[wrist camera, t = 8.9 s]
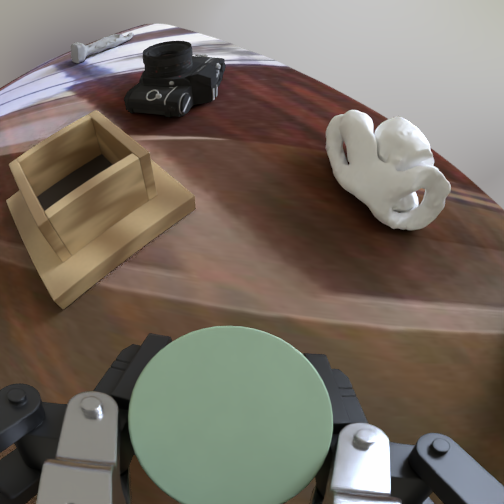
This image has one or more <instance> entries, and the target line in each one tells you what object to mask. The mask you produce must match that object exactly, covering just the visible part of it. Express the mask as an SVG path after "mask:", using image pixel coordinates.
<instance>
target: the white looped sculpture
mask: <svg viewBox="0 0 504 504" xmlns="http://www.w3.org/2000/svg"><path fill="white" fill-rule="evenodd" d="M326 138H327V140H326V150H327V155H328V157H329V160H330V164H331V167H332V169H333V174H334V176H335V178H336V180H337V181H338V183H339V184H340V185H341V186H342V187H343V188H344V189H345V190H346V191H348V192H349V193H351V194H353V195H355V197H356V198H358V199H359V200H360V201H362V202H363V203H365V204H366V205H367V206H368V207H369V209H370V211H371V212H372V214H373V215H374V217H376V218H377V219H378V220H379V221H380V222H381V223H383V224H386V225H387V226H390V227H391V228H392V229H396V228H398V229H402V230H405V229H407V230H417V229H422V228H424V227H425V226H427V225H428V224H429V223H431V222H432V221H433V220H435V218H436V217H437V215H438V214H439V213H440V212H441V211H442V209H443V208H444V205H445V199H446V196H447V195H448V194H449V193H450V190H451V186H450V183H449V182H448V181H447V180H446V178H445V177H444V175H443V174H442V173H441V172H440V171H439V170H438V168H436V167H434V166H433V165H434V158H433V154H432V152H431V150H430V144H429V142H428V141H427V139H426V137H425V136H424V135H423V133H422V132H421V131H420V130H419V128H418V127H416V126H414V125H413V124H411V123H410V122H409V120H405V119H404V118H402V117H401V116H398V117H393V118H391V119H388V120H386V121H384V122H382V123H381V124H380V125H379V126H378V127H377V129H376V131H375V133H374V134H373V121H372V119H371V118H370V117H369V116H368V115H367V114H365V113H363V112H360V111H358V110H350V111H348V112H346V113H345V114H341V115H337V116H335V117H333V118H332V120H331V121H330V123H329V125H328V127H327V130H326ZM343 142H345V144H346V147H347V158H348V162H349V163H350V164H349V165H348V162H347V160H346V157H345V154H344V151H343ZM421 188H423V189H425V194H424V198H423V201H422V202H421V204H420V205H419V206H418V197H417V194H416V192H415V191H417V190H419V189H421ZM398 212H400V213H398Z"/></svg>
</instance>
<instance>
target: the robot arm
mask: <svg viewBox="0 0 504 504" xmlns="http://www.w3.org/2000/svg"><path fill="white" fill-rule="evenodd" d="M171 342H172V339H171V337H169V336H163V335H157V334H152V333H149V334H148V336H147V337H146V339H145V340H144V342H143V344H142V345H141V346H140V345H135V344H132V345H131V346H129V347H127V348H125V349H124V350H122V351H121V352H120V354H119V355H118V357H117V358H116V361H114V362H113V364H112V365H111V368H109V369H108V371H107V372H106V373H105V375H104V376H103V378H102V379H101V380H100V382H99V383H98V385H97V386H96V388H95V389H94V390H93V391H87V392H82V393H79V394H77V395H75V396H74V397H72V398H71V399H70V400H69V402H68V404H56V403H47V402H42V400H41V397H40V394H39V392H38V391H37V390H36V389H35V388H34V387H32V386H30V385H26V384H12V385H9V386H6V387H4V388H3V389H1V390H0V453H1V452H2V451H3V450H5V449H6V448H8V447H9V446H11V445H12V444H13V443H14V444H15V446H16V449H15V450H13V451H12V452H11V453H9V454H8V455H7V456H5V457H4V458H2V459H1V460H0V504H26V503H27V502H28V501H29V500H30V499H31V498H33V497H34V496H35V495H36V494H37V493H38V495H37V502H36V504H132V492H131V474H130V466H129V465H130V462H131V460H132V457H133V455H135V452H134V449H133V446H132V443H131V439H130V434H129V428H128V411H129V403H130V399H131V395H132V391H133V389H134V386H135V384H136V381H137V379H138V377H139V376H140V374H141V372H142V371H143V369H144V368H145V366H146V365H147V364H148V362H149V361H150V360H151V359H152V358H153V357H154V356H155V355H156V354H157V353H158V352H159V351H160V350H161V349H163V348H164V347H165V346H167V345H168V344H169V343H171ZM303 355H304V356H305V357H306V358H307V359H308V360H309V362H310V363H311V364H312V365H313V367H314V368H315V369H316V370H317V372H318V374H319V375H320V377H321V379H322V380H323V382H324V385H325V387H326V389H327V391H328V394H329V398H330V401H331V406H332V413H333V432H332V440H331V444H330V447H329V451H328V454H327V456H326V458H325V460H324V463H323V465H322V466H321V468H320V470H319V471H318V473H317V474H316V476H315V478H316V485H315V487H314V489H313V491H312V495H311V499H310V503H309V504H434V502H433V501H432V500H431V499H430V498H429V496H430V494H431V493H432V492H434V493H435V494H436V495H437V496H438V497H439V499H440V500H441V501H442V502H443V503H444V504H504V486H503V485H502V484H501V483H499V482H498V481H497V480H496V479H495V478H494V477H493V476H492V475H491V474H490V473H488V472H487V471H486V470H485V469H484V468H483V467H482V466H481V465H480V464H479V463H477V462H476V461H475V460H474V459H473V458H472V457H471V456H470V455H469V454H468V453H466V452H465V451H464V450H463V449H462V448H461V447H460V446H459V445H458V444H457V443H455V442H454V441H453V440H452V439H451V438H449V437H447V436H445V435H443V434H439V433H429V434H425V435H423V436H421V437H420V438H419V440H418V441H417V443H416V445H406V444H398V443H392V442H389V439H388V437H387V435H386V434H385V433H384V432H383V431H382V430H381V429H379V428H378V427H376V426H374V425H371V424H368V422H367V419H366V417H365V415H364V412H363V410H362V408H361V406H360V403H359V401H358V399H357V397H356V394H355V392H354V390H353V389H352V385H351V383H350V381H349V379H348V377H347V376H346V375H345V374H343V373H342V372H341V371H340V370H339V369H331V367H330V364H329V362H328V359H327V357H326V355H324V354H308V353H304V354H303Z"/></svg>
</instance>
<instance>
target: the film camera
mask: <svg viewBox="0 0 504 504" xmlns="http://www.w3.org/2000/svg"><path fill="white" fill-rule="evenodd" d="M192 55H193V54H192V47H191V44H190V43H189V42H185V41H169V42H163V43H159V44H156V45H153V46H150V47H148V48H147V49H145V50H144V51H143V63H144V64H145V71H144V72H143V73H142V76H141V78H140V80H139V81H140V82H139V83H138V84H137V85H135V86H134V87H133V88H132V89H130V90H129V91H128V92H127V94H126V96H125V97H124V101H125V105H126V110H128V112H130V113H135V112H136V113H148V114H158V115H165V117H173V116H177V117H181V116H184V115H185V114H186V113H188V112H189V110H190V108H191V107H192V106H193V105H195V104H202V103H208V102H211V101H212V100H215V97H217V87H218V86H219V85H220V82H221V81H222V77H223V73H224V71H225V63H224V59H222V58H211V57H207V55H196V56H200V57H196V56H192Z"/></svg>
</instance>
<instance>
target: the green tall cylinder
mask: <svg viewBox="0 0 504 504" xmlns="http://www.w3.org/2000/svg"><path fill="white" fill-rule="evenodd" d="M128 428H129V434H130V439H131V443H132V446H133V449H134V452H135V455H136V457H137V459H138V461H139V463H140V465H141V466H142V468H143V469H144V471H145V472H146V474H147V475H148V476H149V478H150V479H151V480H152V481H153V482H154V483H155V484H156V485H157V486H158V487H159V488H160V489H161V490H162V491H164V492H165V493H166V494H167V495H168V496H170V497H172V498H173V499H175V500H176V501H178V502H179V503H181V504H283V503H285V502H287V501H288V500H290V499H291V498H293V497H294V496H296V495H297V494H298V493H299V492H301V491H302V490H303V489H304V488H305V487H306V486H307V485H308V484H309V483H310V482H311V481H312V479H313V478H314V477H315V476H316V474H317V473H318V471H319V470H320V468H321V466H322V465H323V463H324V460H325V458H326V456H327V454H328V451H329V447H330V444H331V440H332V432H333V413H332V406H331V401H330V398H329V394H328V391H327V389H326V387H325V385H324V382H323V380H322V379H321V377H320V375H319V374H318V372H317V370H316V369H315V368H314V367H313V365H312V364H311V363H310V362H309V360H308V359H307V358H306V357H305V356H304V355H303V354H302V353H300V352H299V351H298V350H297V349H295V348H294V347H293V346H292V345H290V344H289V343H287V342H285V341H283V340H282V339H280V338H278V337H276V336H274V335H271V334H269V333H267V332H263V331H260V330H257V329H253V328H247V327H241V326H216V327H210V328H204V329H201V330H197V331H194V332H191V333H188V334H186V335H184V336H181V337H179V338H178V339H176V340H174V341H172V342H171V343H169V344H168V345H167V346H165V347H164V348H163V349H161V350H160V351H159V352H158V353H157V354H156V355H155V356H154V357H153V358H152V359H151V360H150V361H149V362H148V364H147V365H146V366H145V368H144V369H143V371H142V372H141V374H140V376H139V377H138V379H137V381H136V384H135V386H134V389H133V391H132V395H131V399H130V403H129V411H128Z"/></svg>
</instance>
